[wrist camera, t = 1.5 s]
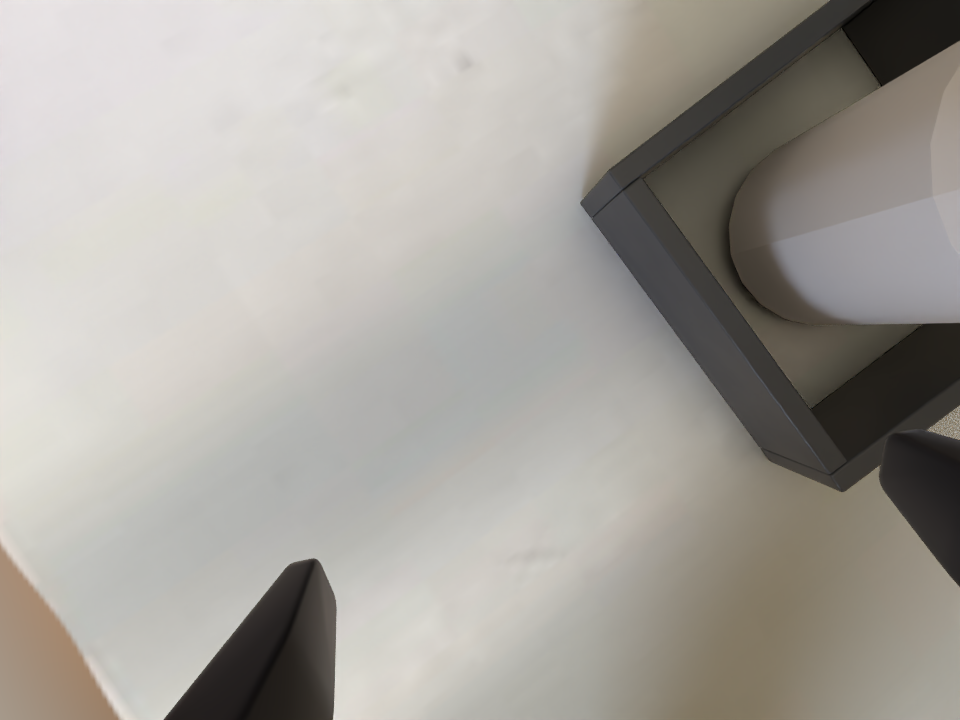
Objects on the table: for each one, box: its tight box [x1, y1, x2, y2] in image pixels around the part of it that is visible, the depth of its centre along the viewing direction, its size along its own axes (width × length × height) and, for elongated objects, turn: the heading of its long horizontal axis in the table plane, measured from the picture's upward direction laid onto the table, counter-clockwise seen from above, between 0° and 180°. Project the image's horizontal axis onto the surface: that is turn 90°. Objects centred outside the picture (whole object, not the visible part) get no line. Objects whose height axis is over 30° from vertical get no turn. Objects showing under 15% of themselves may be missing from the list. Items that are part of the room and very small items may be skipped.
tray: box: [581, 0, 960, 492], centre depth 20 cm, size 14×14×4 cm
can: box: [729, 41, 960, 325], centre depth 17 cm, size 8×8×12 cm
